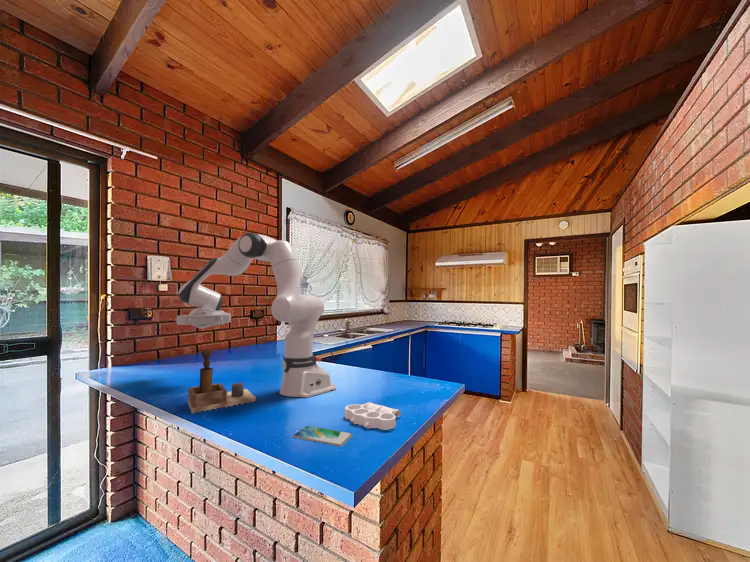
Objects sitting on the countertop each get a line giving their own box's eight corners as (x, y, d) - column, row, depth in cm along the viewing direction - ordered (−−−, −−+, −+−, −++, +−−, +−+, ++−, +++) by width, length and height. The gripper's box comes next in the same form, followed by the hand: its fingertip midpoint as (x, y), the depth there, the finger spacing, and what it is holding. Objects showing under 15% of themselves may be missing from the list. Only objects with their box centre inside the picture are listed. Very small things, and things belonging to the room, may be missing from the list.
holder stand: (246, 392, 123) (246, 378, 123) (255, 401, 112) (255, 386, 113) (187, 402, 111) (188, 387, 111) (191, 413, 101) (192, 396, 101)
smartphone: (341, 445, 79) (291, 435, 84) (341, 448, 79) (291, 439, 84) (353, 433, 86) (306, 425, 91) (353, 436, 86) (306, 428, 91)
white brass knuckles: (409, 420, 97) (382, 437, 85) (364, 408, 108) (334, 421, 96) (409, 409, 97) (382, 424, 85) (364, 398, 108) (335, 410, 96)
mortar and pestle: (219, 398, 112) (221, 347, 113) (208, 404, 105) (210, 350, 106) (202, 397, 112) (204, 347, 113) (190, 403, 106) (191, 350, 107)
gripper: (174, 312, 132) (177, 313, 120) (227, 310, 144) (233, 311, 133) (174, 326, 131) (176, 329, 120) (226, 324, 143) (233, 326, 132)
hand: (207, 319), depth 126 cm, fingers open, 8 cm apart
